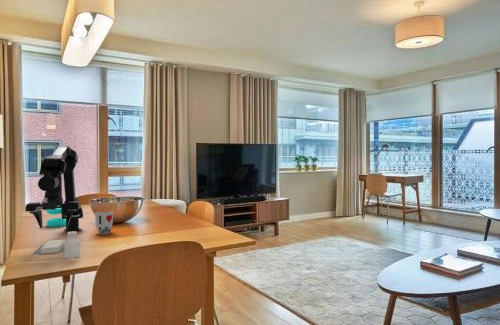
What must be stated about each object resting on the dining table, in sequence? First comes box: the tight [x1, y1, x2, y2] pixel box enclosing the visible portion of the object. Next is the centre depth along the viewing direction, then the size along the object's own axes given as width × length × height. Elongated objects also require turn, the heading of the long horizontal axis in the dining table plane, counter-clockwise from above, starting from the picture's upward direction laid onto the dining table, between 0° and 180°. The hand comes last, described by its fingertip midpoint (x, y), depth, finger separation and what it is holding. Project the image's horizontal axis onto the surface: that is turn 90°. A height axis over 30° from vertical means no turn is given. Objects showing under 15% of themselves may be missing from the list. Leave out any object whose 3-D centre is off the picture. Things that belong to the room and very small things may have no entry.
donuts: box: [45, 208, 66, 228], centre depth 186 cm, size 10×10×10 cm
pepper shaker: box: [64, 231, 81, 260], centre depth 129 cm, size 4×4×10 cm
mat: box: [31, 244, 65, 256], centre depth 140 cm, size 14×12×1 cm
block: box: [40, 239, 66, 255], centre depth 139 cm, size 2×6×12 cm
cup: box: [94, 211, 114, 235], centre depth 168 cm, size 8×8×10 cm
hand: (54, 227), depth 141 cm, fingers open, 9 cm apart
